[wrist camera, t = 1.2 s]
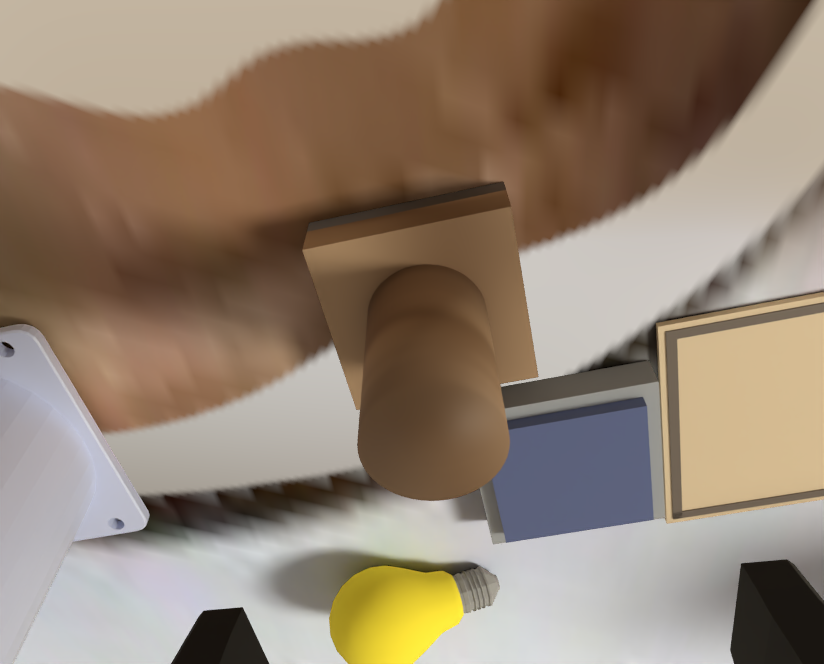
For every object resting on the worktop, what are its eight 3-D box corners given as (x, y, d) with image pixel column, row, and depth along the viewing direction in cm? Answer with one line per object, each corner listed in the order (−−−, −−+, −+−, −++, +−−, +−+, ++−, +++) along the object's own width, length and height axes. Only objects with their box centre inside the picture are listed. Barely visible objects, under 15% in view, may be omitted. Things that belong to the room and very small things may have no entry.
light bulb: (313, 564, 26) (327, 624, 22) (473, 516, 27) (509, 566, 24) (333, 644, 27) (349, 714, 23) (486, 594, 28) (523, 653, 25)
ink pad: (490, 520, 25) (494, 554, 23) (460, 394, 22) (463, 425, 20) (656, 494, 24) (669, 527, 23) (648, 360, 21) (662, 390, 20)
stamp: (359, 375, 21) (344, 549, 16) (309, 221, 19) (272, 369, 13) (529, 343, 21) (573, 512, 16) (503, 180, 18) (544, 317, 13)
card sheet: (665, 519, 25) (667, 524, 24) (655, 322, 20) (658, 327, 20) (915, 479, 24) (920, 485, 24) (961, 266, 19) (967, 270, 19)
